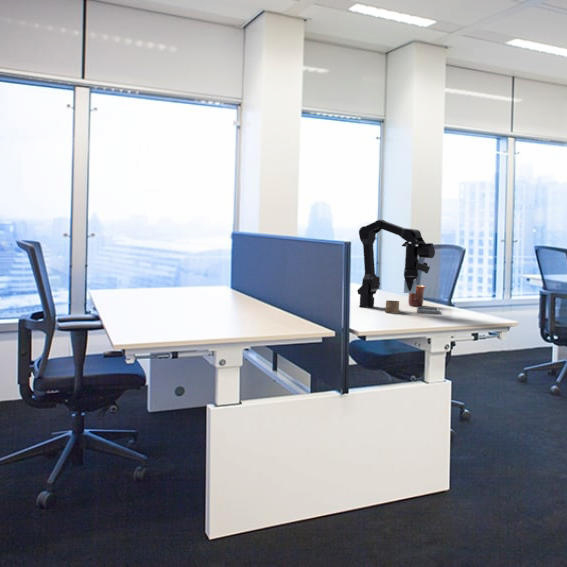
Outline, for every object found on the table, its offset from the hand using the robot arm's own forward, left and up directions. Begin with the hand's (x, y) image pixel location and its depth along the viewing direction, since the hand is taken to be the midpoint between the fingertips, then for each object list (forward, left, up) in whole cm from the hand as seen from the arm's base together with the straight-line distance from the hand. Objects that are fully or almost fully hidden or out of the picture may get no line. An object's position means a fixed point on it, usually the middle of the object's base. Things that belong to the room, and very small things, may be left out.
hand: (409, 290), depth 276 cm
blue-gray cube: (0, 0, -1) cm, 1 cm away
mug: (+3, +24, -11) cm, 27 cm away
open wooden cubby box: (-8, 0, -11) cm, 13 cm away
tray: (+9, +8, -11) cm, 16 cm away
